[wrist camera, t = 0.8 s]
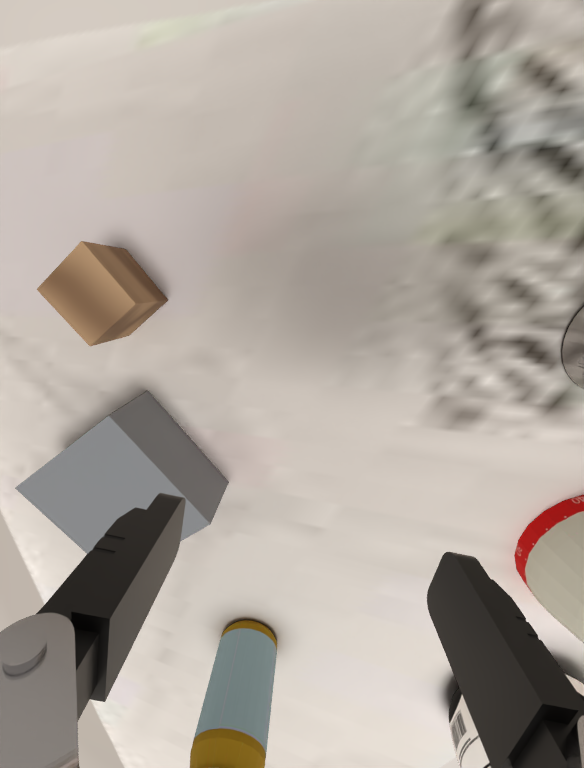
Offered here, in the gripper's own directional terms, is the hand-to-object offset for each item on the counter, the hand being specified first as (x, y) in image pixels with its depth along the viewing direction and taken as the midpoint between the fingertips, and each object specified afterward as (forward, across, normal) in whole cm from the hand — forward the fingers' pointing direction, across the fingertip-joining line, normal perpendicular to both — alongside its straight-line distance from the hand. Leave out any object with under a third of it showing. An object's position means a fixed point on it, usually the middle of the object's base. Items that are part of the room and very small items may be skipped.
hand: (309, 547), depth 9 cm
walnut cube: (+19, +16, -4) cm, 25 cm away
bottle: (+21, -1, +34) cm, 40 cm away
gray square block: (+20, +14, +12) cm, 27 cm away
